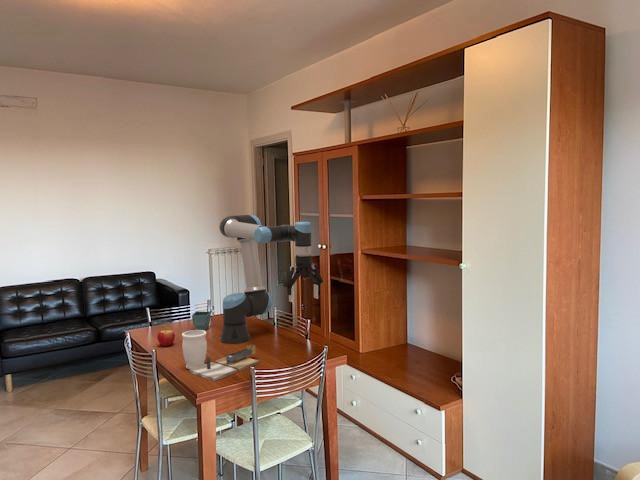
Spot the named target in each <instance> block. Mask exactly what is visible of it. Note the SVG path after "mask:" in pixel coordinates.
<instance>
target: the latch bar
mask: <svg viewBox="0 0 640 480" xmlns="http://www.w3.org/2000/svg"><path fill="white" fill-rule="evenodd" d="M254 354H256V345H255V344H252V343H250V344H248V345H246V348H244V349H242V350H239V351H235V352H234V353H233V352H232V353H228V354H226V355H225V357H226V362H234V361H235V360H238V359H240V358H243V357H249V356H250V355H252V356H253V355H254Z"/></svg>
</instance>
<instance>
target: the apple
mask: <svg viewBox="0 0 640 480" xmlns="http://www.w3.org/2000/svg"><path fill="white" fill-rule="evenodd" d="M162 328H163V329H164V330H160V331H159V332H158V333H157V337H156V338H157V341H158V344H159V345H161V346H162V347H169V346H171V345H173V344H174V342H175V338H176V334H175V331H174V330H166V329H165V327H163V326H162Z"/></svg>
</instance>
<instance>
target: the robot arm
mask: <svg viewBox="0 0 640 480" xmlns="http://www.w3.org/2000/svg"><path fill="white" fill-rule="evenodd" d="M218 227H219V232H220V234H221V235H222V236H224V237H225V238H231V239H233V238H236V241H237V242H238V244H240V250H241V256H242V264H243V273H244V278H245V279H244V280H245V290H244V292H236V293H230V294H227V295H226V296H225V297H223V299H222V313H223V314H222V316H223V326H222V329H221V330H222V331H221V334H220V342H222V343H224V344H242V343H246V342H248V341H249V340H251V334H250V331H249V327H248V325H247V318H251V317H256V316H261V315H264V314H267V313H269V312H270V310H271V309H272V305H273V300H272V296H271V293H270V292H268V291H267V288H266V287H264V285H263V281H262V271H261V265H260V258H259V252H258V251H259V250H258V244H270V243H281V242H295V243H294V246H295V247H294V249H295V250H294V252H295V253H294V254H295V257H294V263H295V266H292V265H290V266H289V268H288V272H287V273H288V274H287V275H286V278H285V279H284V283H283V287H284V288H286V290H287V292H286V293H287V295H288V302H290V303H294V288H293V287H294V285H295V283H296V282H297V281H298V279H299V277H301V276H304V275H306V276H309V278H310V279H311V280H312V282H313V283H314V284H313V298H314V299H319V292H320V285H321V284H322V283H323V282H324V280H323V278H322V276H321V274H320V271H319V270H318V265H317V263H313V264H312V255H311V254H312V232H313V231H312V224H311V222H310V221H296V222H295V223H294V225H291V224H282V225H273V226H272V225H271V226H269V225H268V226H267V225H263V224H262V223H261V220H260V218H259V217H257V216H256V215H255V214H254V215H253V214H239V215H228V216H226V217H223V218H222V220H221V221H220V223H219V226H218ZM257 243H258V244H257Z"/></svg>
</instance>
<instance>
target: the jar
mask: <svg viewBox="0 0 640 480" xmlns="http://www.w3.org/2000/svg"><path fill="white" fill-rule="evenodd" d="M206 335H207V331H205V330H196V329H193V330H187V331H183V332H182V333H181V337H182V344H181V345H182V354H183V359H184V361H185V364H186V365H185V368H186V369H188V370H191V369H194V368H197V367H199V366H202V365H205V364H206V363H205V360H206V359H207V350H208V342H207V338H206Z"/></svg>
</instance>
